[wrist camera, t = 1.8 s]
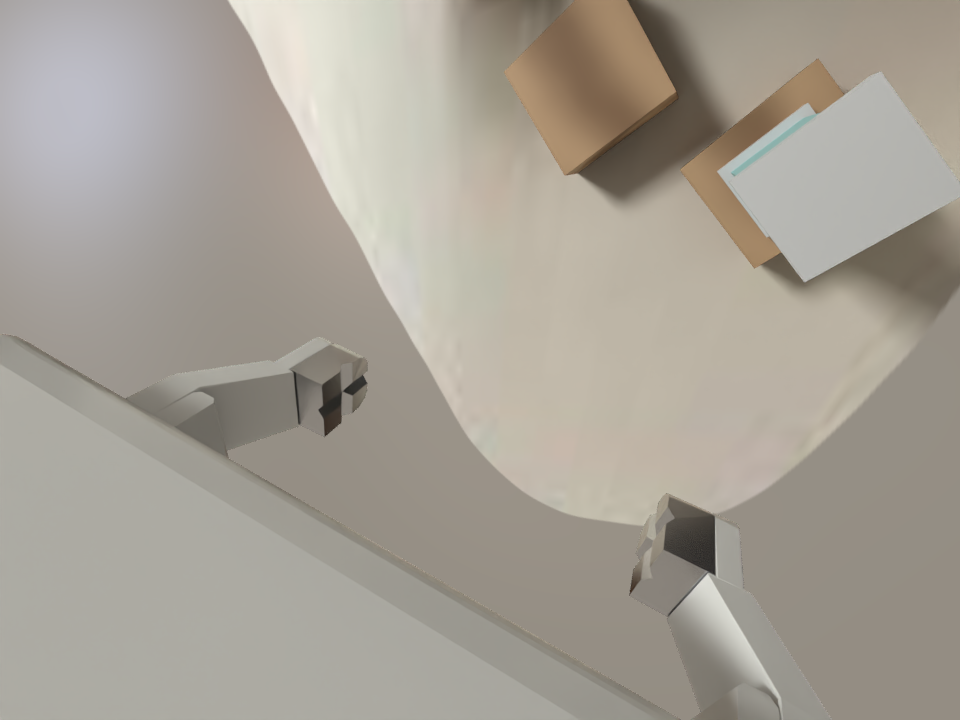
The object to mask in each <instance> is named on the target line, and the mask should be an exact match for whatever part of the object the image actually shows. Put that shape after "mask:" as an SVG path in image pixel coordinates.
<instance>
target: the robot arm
mask: <svg viewBox="0 0 960 720" xmlns="http://www.w3.org/2000/svg"><path fill="white" fill-rule="evenodd" d="M367 370H368V362H367V360H366V359H365V358H364V357H362V356H360V355H358V354H356V353H354V352H352V351H350V350H348V349H345V348H343V347H341V346H339V345H337V344H334V343H332V342H330V341H328V340H326V339H324V338H322V337H320V338H314V339H313V340H311V341H309V342H308V343H306V344H304V345H303V346H301V347H299V348H297V349H296V350H294V351H292V352H291V353H289V354H287V355H286V356H284V357H282V358H281V359H279V360H277V361H275V362H271V361H262V362H255V363H248V364H241V365H235V366H227V367H221V368H214V369H207V370H200V371H193V372H187V373H180V374H173V375H171V376H169V377H167V378H165V379H163V380H161V381H159V382H157V383H155V384H153V385H151V386H149V387H147V388H145V389H143V390H141V391H139V392H137V393H135V394H133V395H131V396H130V397H127V398H123V397H122V396H120V395H118V394H116V393H115V392H113V391H111V390H110V389H108V388H106V387H104V386H103V385H101V384H99V383H97V382H95V381H94V380H92V379H90V378H89V377H87V376H85V375H84V374H82V373H80V372H78V371H77V370H75V369H73V368H71V367H70V366H68V365H66V364H64V363H63V362H61V361H59V360H58V359H56V358H54V357H52V356H51V355H49V354H47V353H46V352H44V351H42V350H41V349H39V348H37V347H36V346H34V345H32V344H31V343H29V342H27V341H25V340H23V339H21V338H19V337H17V336H13V335H8V334H0V720H681V719H679V718H677V717H676V716H674V715H672V714H671V713H669V712H667V711H665V710H664V709H662V708H660V707H658V706H657V705H655V704H653V703H651V702H650V701H648V700H646V699H644V698H643V697H641V696H639V695H638V694H636V693H634V692H632V691H631V690H629V689H627V688H626V687H624V686H622V685H620V684H618V683H617V682H615V681H613V680H612V679H610V678H608V677H606V676H605V675H603V674H601V673H599V672H598V671H596V670H594V669H593V668H590V667H589V666H587V665H586V664H584V663H582V662H581V661H579V660H577V659H575V658H574V657H572V656H570V655H568V654H567V653H565V652H563V651H561V650H560V649H558V648H556V647H555V646H553V645H551V644H549V643H548V642H546V641H544V640H542V639H541V638H539V637H537V636H535V635H534V634H532V633H530V632H528V631H527V630H525V629H523V628H522V627H520V626H518V625H516V624H515V623H513V622H511V621H509V620H508V619H506V618H504V617H502V616H501V615H499V614H497V613H496V612H494V611H492V610H490V609H489V608H487V607H485V606H483V605H482V604H480V603H478V602H477V601H475V600H473V599H471V598H469V597H468V596H466V595H464V594H463V593H461V592H459V591H457V590H455V589H454V588H452V587H450V586H449V585H447V584H445V583H444V582H442V581H440V580H438V579H437V578H435V577H433V576H431V575H429V574H428V573H426V572H424V571H423V570H421V569H419V568H417V567H416V566H414V565H412V564H410V563H409V562H407V561H405V560H404V559H402V558H400V557H398V556H397V555H395V554H393V553H392V552H390V551H388V550H386V549H385V548H383V547H381V546H379V545H378V544H376V543H374V542H372V541H371V540H369V539H367V538H365V537H364V536H362V535H360V534H359V533H357V532H355V531H354V530H352V529H350V528H348V527H347V526H345V525H343V524H341V523H340V522H338V521H336V520H334V519H333V518H331V517H329V516H328V515H326V514H324V513H322V512H321V511H319V510H317V509H315V508H314V507H312V506H310V505H309V504H307V503H305V502H303V501H302V500H300V499H298V498H296V497H295V496H293V495H291V494H289V493H288V492H286V491H284V490H283V489H281V488H279V487H277V486H276V485H274V484H272V483H270V482H269V481H267V480H265V479H264V478H262V477H260V476H258V475H256V474H255V473H253V472H251V471H250V470H248V469H246V468H244V467H243V466H241V465H239V464H238V463H236V462H234V461H232V460H231V459H229V457H228V453H227V451H228V450H230V449H233V448H236V447H239V446H242V445H245V444H248V443H251V442H254V441H257V440H260V439H263V438H266V437H269V436H271V435H274V434H277V433H281V432H283V431H286V430H289V429H292V428H295V427H298V426H299V425H300V426H303V427H305V428H307V429H309V430H311V431H313V432H315V433H317V434H319V435H321V436H323V437H325V436H326V435H328V434H329V433H330V432H331V431H332V430H333V429H335V428H336V427H337V426H338V425H339V424H340V423H341V421H342V416H343V415H346V414H350V413H353V412H354V411H355V410H356V409H357V408H359V406H360V405H361V403H362V402H363V400H364V398H365V396H366V392H367V382H366V380H365V378H364V376H363V374H364V373H365V372H367ZM636 554H637V556H638V558H639V560H640V561H639V562H638V563H637V565H636V566H635V568H634V569H633V574H632V581H631V587H630V593H629V596H631V597H632V598H634V599H636V600H638V601H639V602H641V603H643V604H645V605H647V606H649V607H650V608H652V609H654V610H656V611H658V612H659V613H661V614H663V615H665V616H667V617H668V618H667V621H668V624H669V626H670V629H671V632H672V635H673V637H674V640H675V642H676V646H677V648H678V651H679V654H680V657H681V659H682V662H683V665H684V667H685V670H686V673H687V676H688V678H689V681H690V684H691V687H692V690H693V692H694V695H695V698H696V701H697V704H698V706H699V709H700V712H701V713H699V714H698V715H697V716H695V717H694V718H692V719H691V720H832V719H831V717H830V716H829V714H828V713H827V711H826V709H825V708H824V706H823V705H822V703H821V702H820V700H819V698H818V697H817V695H816V694H815V692H814V691H813V689H812V688H811V686H810V684H809V683H808V681H807V680H806V678H805V676H804V675H803V673H802V672H801V671H800V669H799V667H798V666H797V664H796V662H795V661H794V659H793V658H792V656H791V655H790V653H789V652H788V650H787V649H786V647H785V645H784V644H783V642H782V640H781V639H780V637H779V636H778V634H777V633H776V631H775V629H774V628H773V626H772V625H771V623H770V622H769V620H768V619H767V617H766V615H765V614H764V612H763V611H762V609H761V608H760V606H759V605H758V603H757V601H756V600H755V598H754V597H753V595H752V594H751V593H749V592H747V591H745V590H744V582H743V581H744V580H743V567H742V554H741V541H740V528H739V526H738V525H737V523H735V522H732V521H730V520H728V519H725V518H723V517H721V516H719V515H716V514H714V513H711V512H709V511H706V510H704V509H702V508H700V507H697V506H695V505H693V504H690V503H688V502H686V501H684V500H681V499H679V498H677V497H675V496H672V495H670V494H668V493H666V494H665V495H664V496H663V497H662V498H661V500H660V501H659V503H658V507H657V513H656V514H653V515H650V516H649V518H648V520H647V521H646V523H645V525H644V527H643V529H642V532H641V534H640V537H639V541H638V545H637V551H636Z"/></svg>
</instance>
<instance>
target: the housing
mask: <svg viewBox="0 0 960 720" xmlns="http://www.w3.org/2000/svg"><path fill="white" fill-rule="evenodd" d="M717 172H718V174H719V175H720V176H721V178H722V179H723V180H724V182H725V183H726V184H727V186H728V187H729V188H730V190H731V191H732V192H733V194H734V195H735V196H736V198H737V199H738V200H739V202H740V203H741V204H742V206H743V207H744V208H745V210H746V211H747V212H748V214H749V215H750V216H751V218H752V219H753V220H754V222H755V223H756V224H757V226H758V227H759V228H760V230H761V231H762V232H763V234H764V235H765V236H766V237H769V236H770V238H771V239H772V240H773V242H774V243H775V244H776V246H777V247H778V248H779V250H780V251H781V252H782V254H783V255H784V256H785V258H786V259H787V260H788V262H789V263H790V264H791V266H792V267H793V268H794V270H795V271H796V272H797V274H798V275H799V276H800V278H801V279H802V280H803V281H804V282H807V281H808V280H810V279H812V278H814V277H816V276H817V275H819V274H821V273H823V272H825V271H827V270H828V269H830V268H832V267H834V266H836V265H837V264H839V263H841V262H843V261H845V260H847V259H848V258H850V257H852V256H854V255H856V254H857V253H859V252H861V251H863V250H865V249H867V248H868V247H870V246H872V245H874V244H876V243H877V242H879V241H881V240H883V239H885V238H887V237H888V236H890V235H892V234H894V233H896V232H897V231H899V230H901V229H903V228H905V227H907V226H908V225H910V224H912V223H914V222H916V221H917V220H919V219H921V218H923V217H925V216H927V215H928V214H930V213H932V212H934V211H936V210H937V209H939V208H941V207H943V206H945V205H947V204H948V203H950V202H952V201H954V200H956V199H957V198H959V197H960V182H959V181H958V179H957V178H956V176H955V175H954V173H953V172H952V171H951V169H950V168H949V166H948V165H947V164H946V162H945V161H944V159H943V158H942V157H941V155H940V154H939V152H938V151H937V150H936V148H935V147H934V145H933V144H932V142H931V141H930V140H929V138H928V137H927V135H926V134H925V133H924V131H923V130H922V128H921V127H920V126H919V124H918V123H917V121H916V120H915V119H914V117H913V116H912V114H911V113H910V111H909V110H908V109H907V107H906V106H905V104H904V103H903V102H902V100H901V99H900V97H899V96H898V95H897V93H896V92H895V90H894V89H893V88H892V86H891V85H890V83H889V82H888V80H887V79H886V78H885V76H884V75H883V73H882V72H881V71H880V72H878V73H875V74H873V75H871V76H869V77H868V78H867V79H865V80H864V81H863V82H861V83H860V84H859V85H857V86H856V87H855V88H853V89H852V90H850V91H849V92H848V93H846V94H845V95H844V96H842V97H841V98H840V99H838V100H837V101H836V102H834V103H833V104H832V105H830V106H829V107H828V108H826V109H825V110H823V111H822V112H821V113H817V114H816V113H815V112H814V110H813V109H812V108H811V106H810V105H809V103H806V104H804V105H803V106H802V107H800V108H799V109H798V110H796V111H795V112H794V113H792V114H791V115H790V116H789V117H787V118H786V119H785V120H783V121H782V122H781V123H779V124H778V125H777V126H775V127H774V128H773V129H772V130H770V131H769V132H768V133H766V134H765V135H764V136H762V137H761V138H760V139H758V140H757V141H756V142H755V143H753V144H752V145H751V146H749V147H748V148H747V149H745V150H744V151H743V152H741V153H740V154H739V155H738V156H736V157H735V158H734V159H732V160H731V161H730V162H728V163H727V164H726V165H725V166H723V167H722V168H721V169H719V170H718V171H717Z"/></svg>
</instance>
